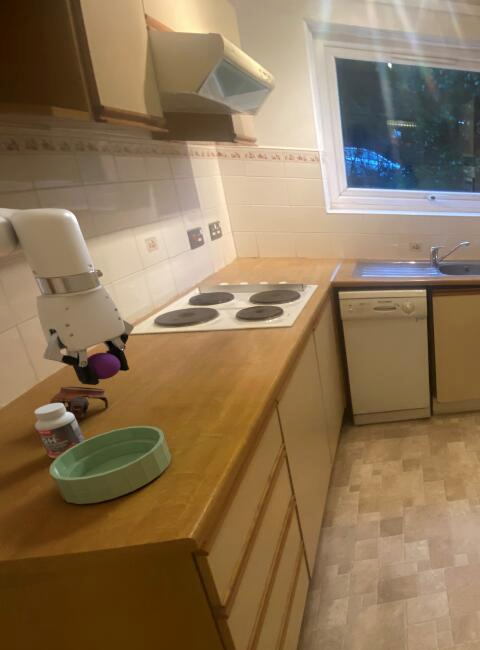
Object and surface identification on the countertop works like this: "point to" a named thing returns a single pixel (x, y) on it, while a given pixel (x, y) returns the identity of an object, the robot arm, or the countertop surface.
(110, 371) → the ball
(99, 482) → the bowl
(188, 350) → the countertop surface
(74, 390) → the brown arched stand
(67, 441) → the pill bottle
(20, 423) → the countertop surface
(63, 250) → the robot arm
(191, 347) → the countertop surface
